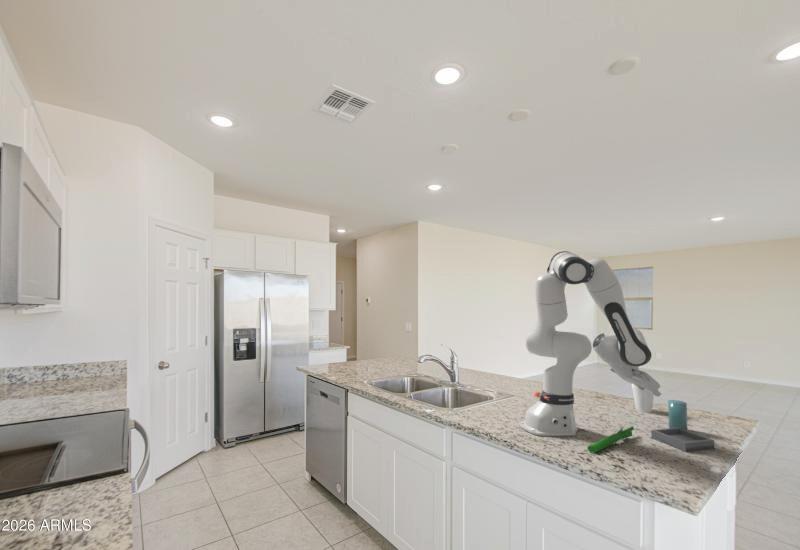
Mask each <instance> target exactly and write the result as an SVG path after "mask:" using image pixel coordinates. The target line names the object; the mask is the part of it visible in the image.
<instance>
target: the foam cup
mask: <svg viewBox="0 0 800 550" xmlns="http://www.w3.org/2000/svg"><path fill="white" fill-rule="evenodd" d="M631 389H632V394H633V401H634V406H635V407H634V408H635V410H636V409H637V410H639V411H638V412H640V411H644V412H643V413H646V412H650V413H652V411H653V406H654V405H653V404H654V397H655V395H654V394H653V392H652V391H650V390H648V389H644V390H641V389H639V388H638V387H637V386H636V385H634V384H632V383H631ZM637 410H636V411H637Z"/></svg>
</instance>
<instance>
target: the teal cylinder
mask: <svg viewBox="0 0 800 550" xmlns="http://www.w3.org/2000/svg"><path fill="white" fill-rule="evenodd" d="M667 401H668V402H667V403H668V404H667V406H668V428H677V427H679V428H681V429H684V430H687V431H689V430H688V406H687V405H688V404H687V402H685V401H683V400H682V401H681V400H675V399H668V400H667Z"/></svg>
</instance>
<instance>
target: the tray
mask: <svg viewBox="0 0 800 550" xmlns="http://www.w3.org/2000/svg"><path fill="white" fill-rule="evenodd" d="M650 432H651V433H650V434H651V439H653V440H656V441H658V442H660V443H663V444H664V445H668V446H670V447H673V448H675V449H678V450H680V451H683V452H685V453H686V452H687V453H688V452H697V451H698V452H699V451H706V450H714V449H715V439H713V438H709V437H706V436H704V435H700V434H698V433H695V432H692V431H689V430H688V431H687V430H684V429H681V428H679V427H677V428H669V427H667V428H657V429H651V431H650Z"/></svg>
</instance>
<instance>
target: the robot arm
mask: <svg viewBox="0 0 800 550" xmlns="http://www.w3.org/2000/svg"><path fill="white" fill-rule="evenodd" d="M619 281H620V280H618V278H617V276H616V274H615V272H614V271H613V268H611V266H610V265H609V263H607V262H606V261H605V260H604V259H602V258H592V259H590V260H586V259H584V258H583V257H580V256H579V255H577V254H575V253H572V252H570V251H566V250H564V251H559V252H557V253H555V254H554V255H553V256H552V257H551V259H550V262H549V264H548V267H547V269H546V272H545V273H543V274H540V275H539V276H537V277H536V280H535V301H536V302H535V303H536V309H537V322H536V324H535V327H534V329H532V330H531V331H529V333H528V334H527V336H526V338H525V346H526V349H527V351H528V352H529V353H530V354H533V355H536V356H539V357H545V358H546V357H547V358H553V359H554V358H555V359H556V364H555V365H552V366H550V367H547V368H546V369H545V370H544V371H543V374H542V379H543V381H542V386H543V387H542V391H541V392H539V391H535V392H534V396H535V397H537V398H539V400H538V401H537V402H535V403H534V404H533V405H532V406H531V407H529V408H528V409H527V410H526V412H525V417H524V418H525V419H524V420H522V421H519V422H518V423H519V426H520V428H521V429H523V430H524V431H526V432H528V433H530V434H532V435H535V436H538V437H539V436H541V437H542V436H543V437H545V436H546V437H547V436H549V437H551V436H552V437H557V436H558V437H559V436H561V437H564V436H569V437H570V436H571V437H572V436H577V432H578V431H579V429H578V426H577V422H576V417H575V409H574V403H575V396H574V393H573V392H574V391H573V382H574V373H575V371H576V369H577V367H578V366H579V365H580V363H582V362H583V361H586V359H587V358H589V356H590V355H591V353H592V350H593V351H595V353H596V354H597V356H598V357H599V358H601V360H602V361H603V362H604V363H607V364H608V366H609V370H610V371H611V372H613V373H615V374H616V375H617V376H618V377H619V378H620V379H622V380H624V381H626V382H628V383H630V384H631V385H632V384H634V385H636V386H637V387H638V388H639V389H641V390H644V389H648V390H650V391H652V392H653V394H654V397H660V396H661V395H662V393H661V391H660V390H659V389H660V388H661V384H660V383H659V382H658V381H657V379H654V377H653V376H652V375H650V374H649V373H647V372H645V371H642V370H640V369H639V367H642V366H644V365H647V364H648V363H649V362H651V359H652V351H651V349H650V348H649V347H648V344H647V342H646V338H645V336H644V334H643V332H641V330H639V329H637V328H635V327H633V326H632V324H631V322H630V320H629V316H628V314H627V308H626V303H625V298H624V294H623V290H622V286H621V284H620V282H619ZM579 284H585V286H586V289H587V291H588V293H589V295H590V296H591V298H592V299H593V301H594V302H595V304H596V305H597V307H598V308H599V309H600V311H601V312H602V313H603V316H604V317H605V318H606V319H607V321H608V323H609V325H610V327H611V329H612V330H613V332H609V333H605V332H604V333H603V332H602V333H600V334H598V335H597V336H596V337H595V339H594V340H593V342H592V343H591V340H590V338H589V337H588V336H587V335H585V334H582V333H577V332H571V331H559V330H556V327H557V326H560V325H561V324H563V323H565V321H566V320H567V319H568V308H567V300H566V294H565V293H566V292H565V289H566V288H565V287H566V286H567V285H579Z"/></svg>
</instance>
